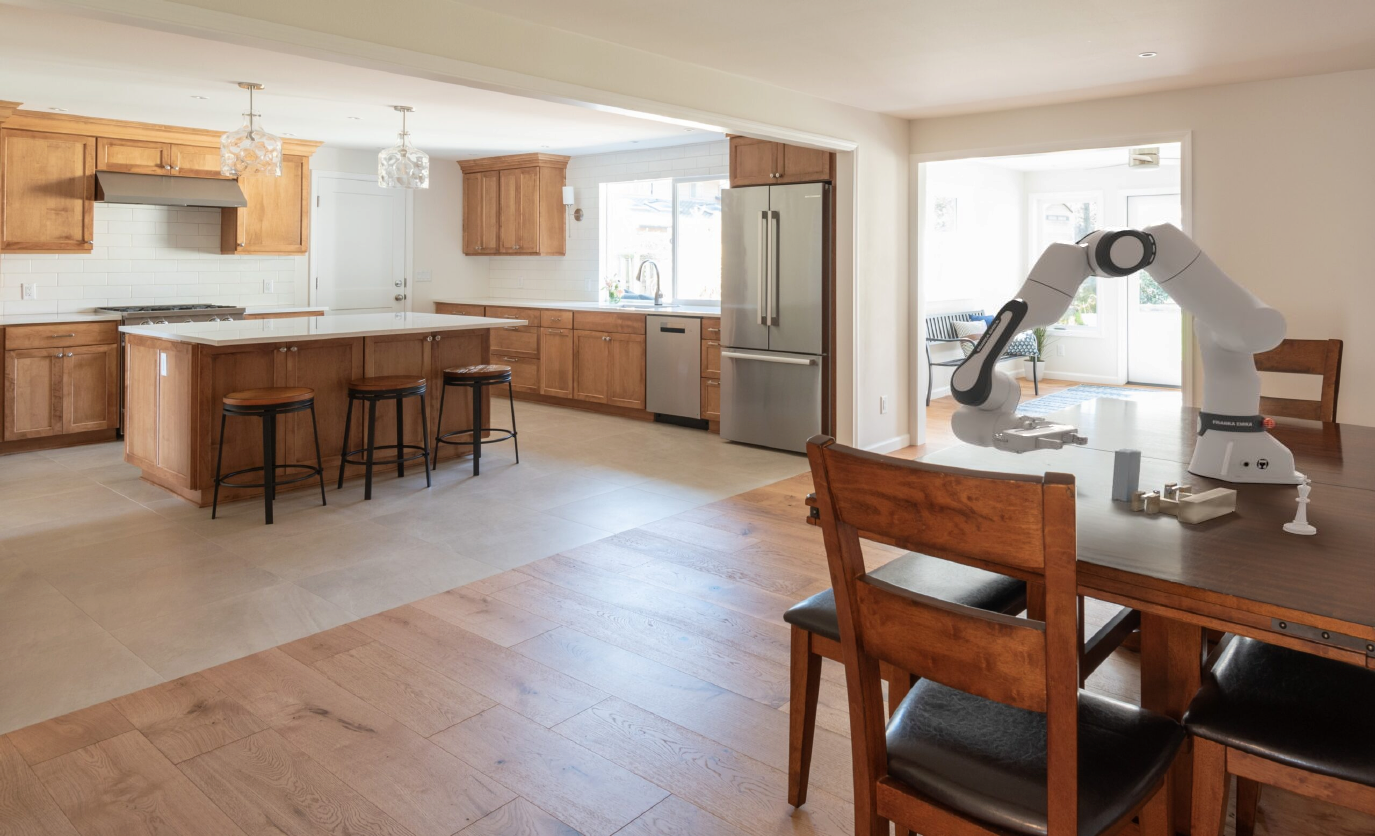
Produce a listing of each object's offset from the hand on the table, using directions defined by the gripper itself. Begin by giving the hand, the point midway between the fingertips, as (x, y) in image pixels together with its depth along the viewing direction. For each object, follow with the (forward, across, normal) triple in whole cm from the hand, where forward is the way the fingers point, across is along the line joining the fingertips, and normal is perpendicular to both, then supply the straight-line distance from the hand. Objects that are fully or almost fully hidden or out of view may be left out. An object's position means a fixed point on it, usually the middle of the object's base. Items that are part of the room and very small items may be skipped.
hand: (1073, 443), depth 187 cm
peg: (+12, 0, +9) cm, 16 cm away
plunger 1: (+19, -5, +7) cm, 21 cm away
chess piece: (+42, +2, +9) cm, 43 cm away
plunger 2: (+19, +4, +7) cm, 21 cm away
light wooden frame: (+23, 0, +9) cm, 25 cm away
